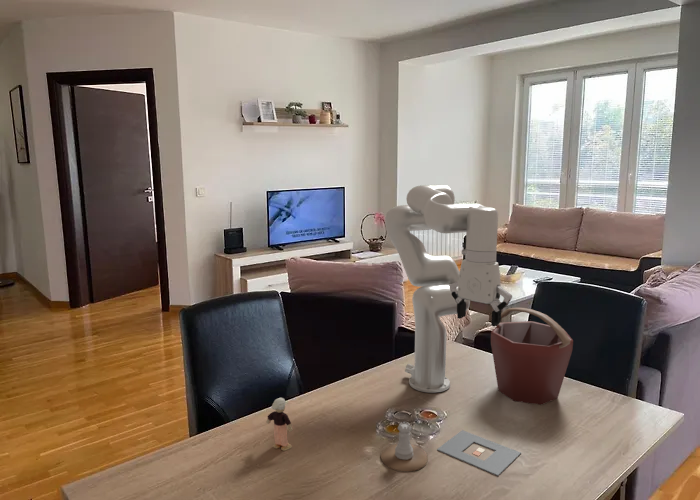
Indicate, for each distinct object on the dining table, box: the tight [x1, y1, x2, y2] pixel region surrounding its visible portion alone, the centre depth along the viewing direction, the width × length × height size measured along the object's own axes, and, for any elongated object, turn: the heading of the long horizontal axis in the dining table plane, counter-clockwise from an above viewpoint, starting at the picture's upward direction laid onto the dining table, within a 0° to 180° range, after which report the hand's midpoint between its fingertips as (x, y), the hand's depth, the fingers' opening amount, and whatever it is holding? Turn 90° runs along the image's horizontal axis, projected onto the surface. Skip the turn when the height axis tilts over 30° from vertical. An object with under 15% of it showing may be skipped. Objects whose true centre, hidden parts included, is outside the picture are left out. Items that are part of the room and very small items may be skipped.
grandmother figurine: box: [265, 397, 294, 452], centre depth 132 cm, size 8×4×13 cm, turn 71°
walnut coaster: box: [380, 443, 429, 473], centre depth 127 cm, size 11×11×1 cm
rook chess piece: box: [395, 421, 414, 460], centre depth 127 cm, size 4×4×8 cm
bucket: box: [490, 307, 574, 406], centre depth 160 cm, size 24×22×25 cm
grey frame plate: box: [436, 429, 522, 477], centre depth 130 cm, size 16×12×1 cm
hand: (478, 321), depth 139 cm, fingers open, 9 cm apart
